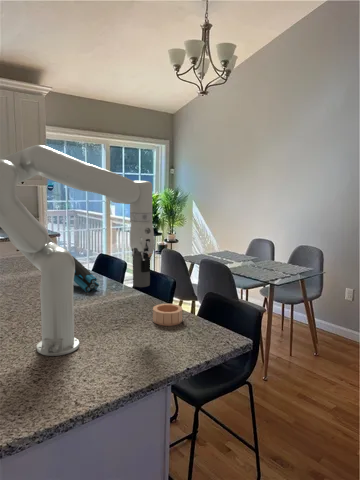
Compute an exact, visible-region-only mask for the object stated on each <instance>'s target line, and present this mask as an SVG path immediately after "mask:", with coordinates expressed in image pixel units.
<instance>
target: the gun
mask: <svg viewBox="0 0 360 480" xmlns="http://www.w3.org/2000/svg"><path fill="white" fill-rule="evenodd" d="M73 258H74V262H75V273H74V282H73V283H75V284H77V285H78V286H79V287H80V288H81V289H82V290H83V291H84V292H85V293H88V292H90V291H91V290H92V291H97V289H98V288H99V285H100V284H99V283H98V282H97V277H96V276H95V275H93V274H92V273H91V272H90V271H89V269H87V268H86V267H85V266H84V265H83V264H82V262H80V261H79V260H78V259H77V258H76V257H75V256H73Z"/></svg>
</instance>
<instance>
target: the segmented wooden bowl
mask: <svg viewBox="0 0 360 480" xmlns="http://www.w3.org/2000/svg"><path fill="white" fill-rule="evenodd" d="M152 322H153V323H154V324H156V325H158V326H163V327H174V326H178V325H180V324H181V323H182V322H183V306H181V305H179V304H176V303H159V304H156V305H155V306H152Z"/></svg>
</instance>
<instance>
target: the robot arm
mask: <svg viewBox="0 0 360 480" xmlns="http://www.w3.org/2000/svg"><path fill="white" fill-rule="evenodd" d="M37 176H40V177H43V178H46V179H48V180H50V181H52V182H53V181H54V182H56V183H59V184H61V185H64V186H67V187H69V188H72V189H75V190H79V191H81V192H82V191H83V192H88V193H94V194H97V195H102V196H104V197H105V198H106V199H108V201H110V202H111V203H114V204H115V203H116V204H124V205H129V222H130V234H129V235H130V236H129V240H130V241H129V242H130V244H129V245H130V249H131V252H132V253H131V257H132V258H133V255H134V254H135V253H136V251H134V248H137V249H138V251H139V252H141V256H142V261H141V272H151V260H152V255H153V253H154V251H155V231H154V225H153V183H152V182H151V181H148V180H132V179H130V178H128V177H127V176H124V175H121V174H119V173H116V172H113V171H110V170H107V169H106V168H102V167H99V166H97V165H94V164H92V163H91V164H90V163H87V162H85V161H83V160H80V159H78V158H77V157H73V156H70V155H69V154H66V153H63V152H61V151H58V150H56V149H55V148H54V149H53V148H51V147H49V146H46V145H42V144H36V145H32V146H29V147H26V148H24V149H21V150H18V151H16V152H13V153H10V154H8V155H6V156H1V157H0V228H1V230H3V231H4V233H5V234H6V235H7V236H8V239H9V241H10V243H11V244H12V245H13V246H14V247H15V248H16V249H17V250H18V251H19V252H20V253H21V254H22V255H23V256H24V257H25V258H26V259H27V260H28V261H29V262H30V263H31V264H32V265H33V266H34V268H36V269H37V270H39V271H40V273H41V276H40V278H41V279H40V287H39V293H40V294H39V295H40V315H41V316H40V318H41V319H40V320H41V321H40V322H41V341H39V342H38V343H37V344H36V351H37V353H39V354H40V355H43V356H48V357H54V356H55V357H58V356H64V355H67V354H71V353H73V352H75V351H76V350H78V349H79V347H80V340H79V339H78V338H76V337H75V310H74V309H75V307H74V306H75V305H74V283H75V282H74V273H75V262H74V258H75V257H74V256H73V255H72V253H71V252H70V251H69V250H67V249H66V248H64V247H63V246H59V245H58V244H57V243H56V242H55V241H54V240H53V239H52V238H51V237H50V236H49V233H48V231H47V229H46V227H45V226H44V225H43V224H42V223H41V222H40V221H39V220H37V218H36V217H35V216H34V215H33V214H32V212H30V211H29V210H28V209H27V207H26V206H25V205H24V204H23V202H22V201H21V200H20V199H19V196H18V195H17V185H18V184H20V183H23V182H25V181H27V180H30V179H32V178H35V177H37ZM144 250H147V251H144ZM144 253H147V254H146V255H145V256H144ZM73 257H74V258H73Z"/></svg>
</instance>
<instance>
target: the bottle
mask: <svg viewBox="0 0 360 480" xmlns="http://www.w3.org/2000/svg"><path fill="white" fill-rule="evenodd" d="M134 251H136V253H135V254H134V255H133V257H132V286H133V287H136V288H146V287H149V286H150V285H151V275H150V274H151V273H150V272H151V271H150V272H141V261H142V256H141V252H139V251H138V249H137V248H134ZM144 251H147V250H144ZM146 254H147V253H144V256H145V255H146Z"/></svg>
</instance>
